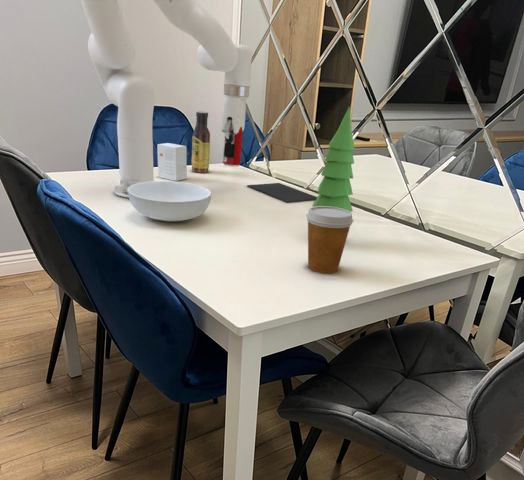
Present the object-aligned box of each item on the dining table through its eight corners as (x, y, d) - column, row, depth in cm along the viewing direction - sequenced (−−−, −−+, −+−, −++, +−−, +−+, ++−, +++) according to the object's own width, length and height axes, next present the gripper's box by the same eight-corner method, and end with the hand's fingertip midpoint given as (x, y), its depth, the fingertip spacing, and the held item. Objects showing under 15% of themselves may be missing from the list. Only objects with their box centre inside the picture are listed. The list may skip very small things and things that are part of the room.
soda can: (243, 166, 168) (246, 125, 163) (230, 167, 165) (233, 125, 159) (232, 163, 172) (234, 122, 166) (219, 163, 168) (221, 122, 162)
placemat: (320, 199, 167) (320, 198, 167) (287, 202, 161) (287, 201, 160) (278, 184, 183) (279, 182, 183) (247, 186, 176) (247, 185, 176)
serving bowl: (114, 221, 130) (112, 193, 127) (149, 203, 148) (148, 177, 145) (194, 233, 127) (195, 204, 124) (221, 213, 145) (222, 187, 142)
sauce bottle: (189, 169, 193) (189, 110, 183) (205, 169, 195) (206, 110, 186) (195, 173, 188) (195, 112, 178) (211, 173, 190) (213, 113, 181)
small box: (187, 179, 179) (187, 146, 174) (176, 181, 175) (176, 147, 170) (168, 175, 183) (168, 142, 177) (157, 177, 178) (156, 143, 173)
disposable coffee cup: (341, 261, 117) (349, 207, 111) (349, 277, 109) (358, 219, 103) (298, 259, 117) (304, 204, 111) (302, 275, 108) (309, 216, 102)
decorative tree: (349, 238, 133) (370, 107, 119) (344, 249, 125) (365, 109, 111) (311, 232, 135) (327, 102, 121) (303, 242, 127) (319, 105, 113)
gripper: (232, 90, 166) (228, 151, 175) (215, 91, 152) (211, 157, 160) (256, 93, 165) (250, 154, 174) (240, 94, 150) (235, 161, 159)
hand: (232, 155), depth 167 cm, fingers closed on soda can, 5 cm apart
